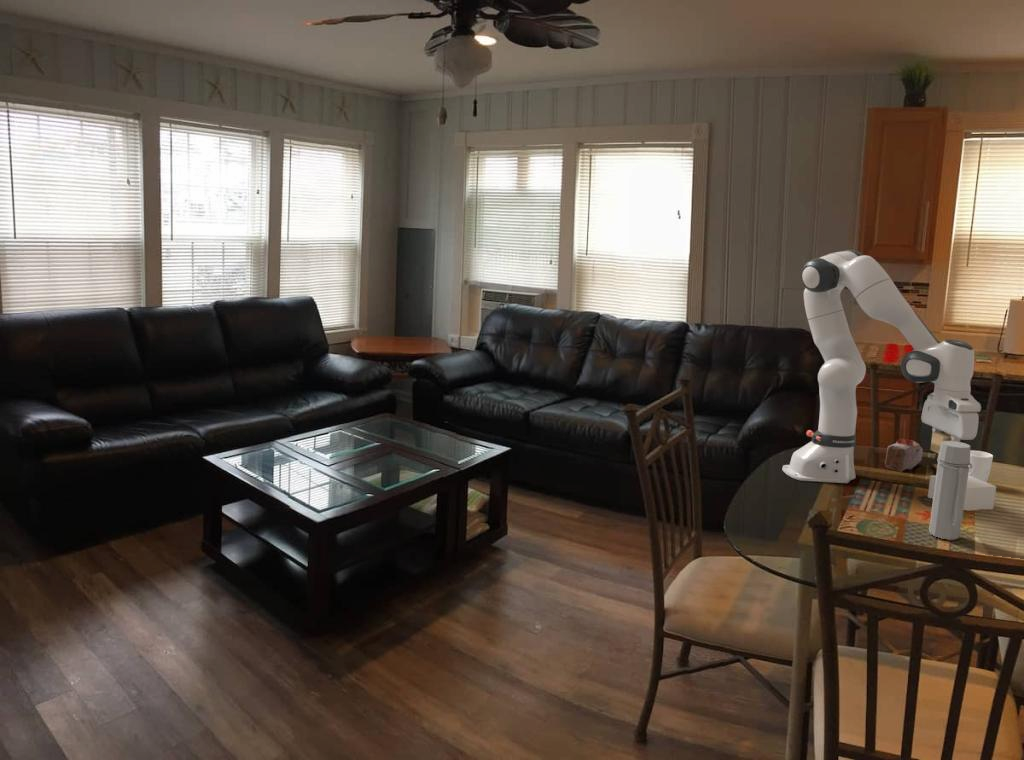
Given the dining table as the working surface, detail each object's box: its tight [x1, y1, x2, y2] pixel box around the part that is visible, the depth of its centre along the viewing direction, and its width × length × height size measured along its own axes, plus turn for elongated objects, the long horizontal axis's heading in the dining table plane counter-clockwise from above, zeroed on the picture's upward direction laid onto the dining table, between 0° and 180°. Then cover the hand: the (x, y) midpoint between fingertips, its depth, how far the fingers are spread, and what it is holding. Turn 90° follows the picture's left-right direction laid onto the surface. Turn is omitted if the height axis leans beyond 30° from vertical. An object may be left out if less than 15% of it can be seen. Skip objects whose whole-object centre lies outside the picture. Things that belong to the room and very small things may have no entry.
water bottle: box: [928, 441, 972, 541], centre depth 204 cm, size 9×8×25 cm
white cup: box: [968, 449, 994, 483], centre depth 250 cm, size 8×8×10 cm
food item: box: [884, 438, 924, 473], centre depth 267 cm, size 14×8×10 cm, turn 133°
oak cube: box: [929, 432, 952, 455], centre depth 222 cm, size 5×5×5 cm
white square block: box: [927, 474, 997, 511], centre depth 233 cm, size 12×12×7 cm
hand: (944, 446), depth 223 cm, fingers closed on oak cube, 5 cm apart
